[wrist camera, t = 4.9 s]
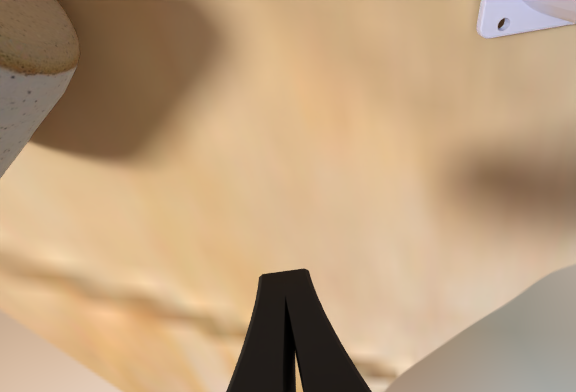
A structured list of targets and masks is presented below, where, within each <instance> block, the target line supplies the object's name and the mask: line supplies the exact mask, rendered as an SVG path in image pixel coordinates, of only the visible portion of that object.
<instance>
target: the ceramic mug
mask: <svg viewBox="0 0 576 392" xmlns="http://www.w3.org/2000/svg"><path fill="white" fill-rule="evenodd" d="M79 56H80V48H79V40H78V37H77V34H76V32H75V30H74V27H73V25H72V23H71V21H70V19H69V17H68V16H67V14H66V12H65V11H64V9H63V8H62V7H61V5H60V4H59V3H58V1H57V0H0V178H1V177H2V175H3V174H4V173H5V171H6V170H7V169H8V167H9V166H10V165H11V163H12V162H13V161H14V160H15V158H16V157H17V156H18V154H19V153H20V152H21V150H22V149H23V148H24V146H25V145H26V144H27V142H28V141H29V140H30V138H31V137H32V135H33V133H34V132H35V131H36V129H37V128H38V127H39V125H40V124H41V123H42V121H43V120H44V119H45V117H46V116H47V115H48V113H49V112H50V111H51V109H52V108H53V107H54V106H55V104H56V103H57V102H58V100H59V99H60V98H61V97H62V95H63V94H64V93H65V91H66V89H67V86H68V84H69V82H70V80H71V78H72V76H73V74H74V72H75V70H76V68H77V65H78V61H79Z"/></svg>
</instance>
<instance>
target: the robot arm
mask: <svg viewBox="0 0 576 392" xmlns="http://www.w3.org/2000/svg"><path fill="white" fill-rule="evenodd" d="M503 18H505V22H504V25H503V26H502V27H501V28H499V29H498V23H499V22H500V21H501V20H502V19H503ZM571 24H576V0H481V3H480V9H479V15H478V22H477V32H478V34H479V35H480V36H482V37H484V38H494V37H500V36H506V35H512V34H518V33H524V32H530V31H536V30H542V29H547V28H553V27H559V26H565V25H571ZM295 353H296V358H297V363H298V368H299V373H300V378H301V383H302V388H303V392H372V391H371V390H370V388H369V387H368V385H367V384H366V382H365V381H364V379H363V378H362V376H361V375H360V373H359V372H358V370H357V369H356V367H355V365H354V364H353V362H352V360H351V359H350V357H349V356H348V354H347V352H346V351H345V349H344V347H343V345H342V344H341V342H340V340H339V338H338V336H337V335H336V333H335V331H334V329H333V327H332V325H331V323H330V322H329V320H328V318H327V316H326V314H325V312H324V310H323V307H322V305H321V303H320V301H319V299H318V296H317V294H316V291H315V289H314V286H313V283H312V280H311V277H310V273H309V271H308V270H306V269H298V270H291V271H283V272H276V273H268V274H262V275H261V276H260V277H259V283H258V290H257V295H256V300H255V305H254V309H253V313H252V317H251V321H250V324H249V327H248V331H247V334H246V337H245V341H244V344H243V347H242V350H241V353H240V356H239V359H238V362H237V364H236V367H235V370H234V373H233V375H232V378H231V381H230V384H229V386H228V389H227V391H226V392H296V377H295Z"/></svg>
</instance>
